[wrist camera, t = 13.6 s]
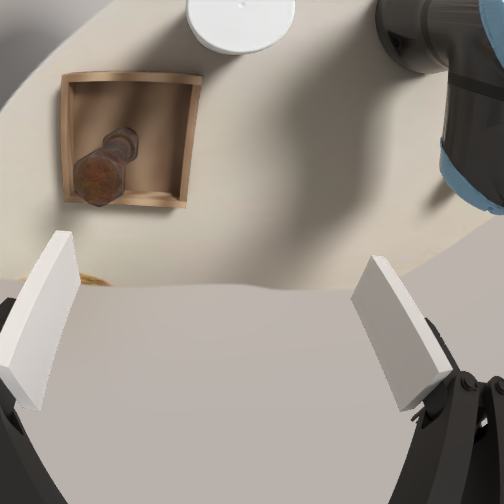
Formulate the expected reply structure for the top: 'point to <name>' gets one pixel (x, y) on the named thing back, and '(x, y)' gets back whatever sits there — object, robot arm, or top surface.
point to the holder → (141, 121)
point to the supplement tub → (239, 23)
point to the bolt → (106, 168)
